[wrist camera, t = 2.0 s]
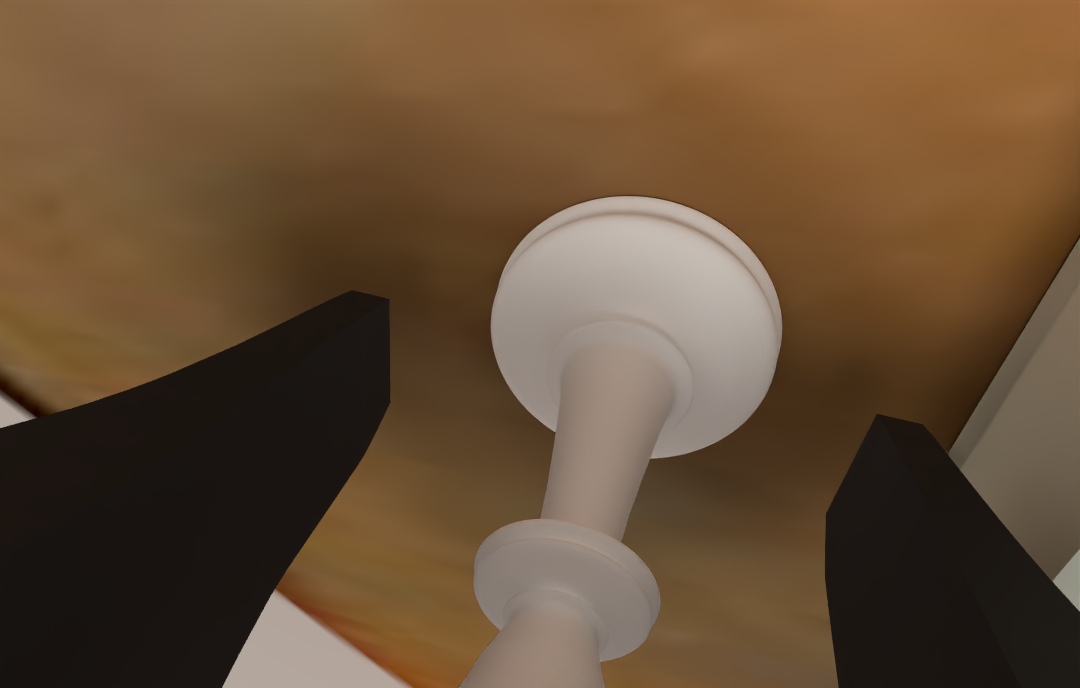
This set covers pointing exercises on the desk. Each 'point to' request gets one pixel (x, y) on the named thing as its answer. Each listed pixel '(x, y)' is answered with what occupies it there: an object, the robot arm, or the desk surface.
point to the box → (1035, 435)
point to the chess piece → (611, 416)
